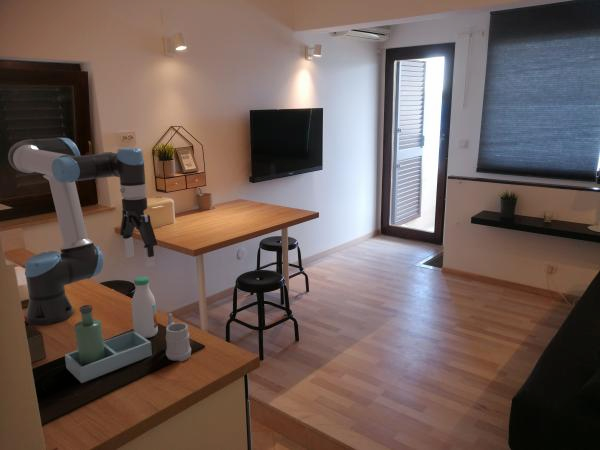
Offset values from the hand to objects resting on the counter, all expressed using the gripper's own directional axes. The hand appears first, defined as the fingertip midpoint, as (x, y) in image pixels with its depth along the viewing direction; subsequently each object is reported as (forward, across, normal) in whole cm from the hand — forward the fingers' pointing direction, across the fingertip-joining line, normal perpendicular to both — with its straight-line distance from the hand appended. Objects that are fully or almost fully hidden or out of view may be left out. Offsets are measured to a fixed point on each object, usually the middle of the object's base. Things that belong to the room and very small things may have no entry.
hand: (140, 261), depth 156 cm
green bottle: (+25, +10, -22) cm, 35 cm away
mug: (+26, +19, 0) cm, 32 cm away
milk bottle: (+26, 0, 0) cm, 26 cm away
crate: (+26, +10, -17) cm, 32 cm away
